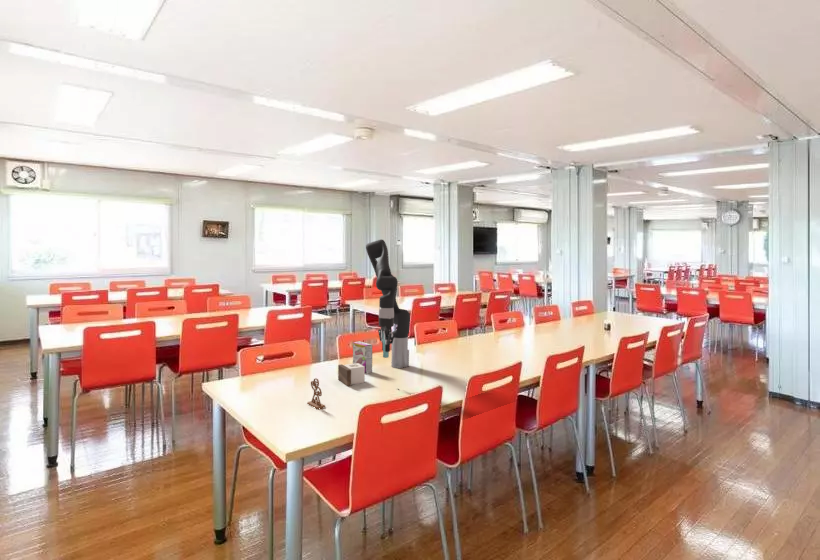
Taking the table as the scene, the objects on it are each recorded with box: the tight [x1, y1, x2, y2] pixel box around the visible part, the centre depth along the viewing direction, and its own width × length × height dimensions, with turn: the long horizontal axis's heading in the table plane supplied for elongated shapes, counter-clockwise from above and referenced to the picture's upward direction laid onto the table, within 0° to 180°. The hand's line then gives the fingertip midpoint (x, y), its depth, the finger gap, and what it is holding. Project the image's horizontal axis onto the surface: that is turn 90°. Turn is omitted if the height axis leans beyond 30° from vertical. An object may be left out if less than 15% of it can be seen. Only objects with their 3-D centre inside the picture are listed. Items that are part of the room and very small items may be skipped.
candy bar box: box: [352, 340, 373, 374], centre depth 257 cm, size 11×5×16 cm, turn 47°
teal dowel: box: [382, 334, 390, 359], centre depth 235 cm, size 3×3×12 cm
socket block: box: [343, 363, 366, 385], centre depth 237 cm, size 8×8×8 cm
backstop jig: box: [337, 363, 352, 387], centre depth 240 cm, size 26×12×9 cm, turn 119°
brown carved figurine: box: [306, 378, 326, 410], centre depth 203 cm, size 9×4×12 cm, turn 42°
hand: (385, 350), depth 235 cm, fingers closed on teal dowel, 2 cm apart
